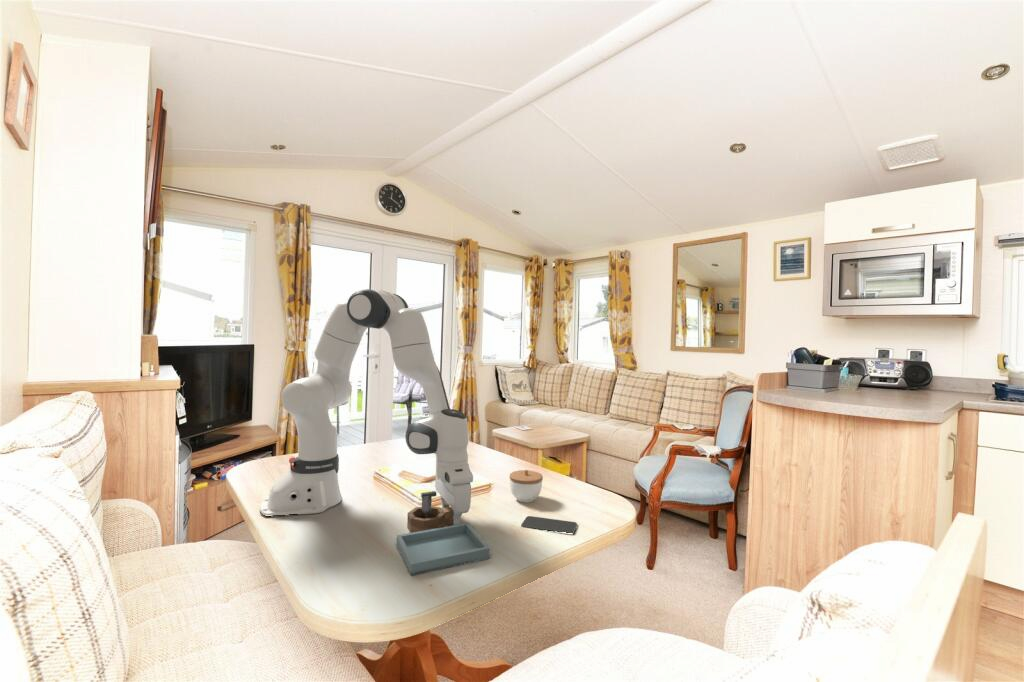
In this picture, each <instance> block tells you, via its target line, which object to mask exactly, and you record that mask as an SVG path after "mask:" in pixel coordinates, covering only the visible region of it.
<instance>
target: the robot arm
mask: <svg viewBox="0 0 1024 682" xmlns="http://www.w3.org/2000/svg"><path fill="white" fill-rule="evenodd" d="M368 328H371V329H378V330H379V329H383V330H384V331H386V332H387V333H388V336H389V339H390V345H391V353H392V358H393V363H394V365H395V367H396V370H397V371H398V372H399V373H400V374H401V375H403V376H404V377H406V378H408V379H412V380H413V381H415V382H416V383H417V384H418V385H420V387H421V388H422V390H423V392H424V396H425V400H426V405H427V407H428V411H429V415H428V416H429V417H426V418H422V419H419V420H417V421H413V422H412V423H411V424H409V426H408V427H407V429H406V431H405V435H404V437H405V443H406V445H407V447H408V448H409V450H410V451H411V452H412V453H414V454H416V455H430V454H434V455H435V459H436V460H435V482H434V483H435V485H434V487H435V491H436V493H438V494H439V495H440V500H441V508H446V507H451V508H452V509H453V512H454V517H452V522H453V524H454V525H459V524H461V518H462V516H463V514H465V513H466V514H467V513H469V512H470V511H469V510H470V508H471V502H472V501H471V500H472V485H471V483H473V482H474V475H473V473H472V471H471V469H470V465H469V464H470V463H468V462H469V455H468V446H469V438H470V437H469V423H468V417H467V415H466V414H465V413H464V412H463V411H460V410H458V409H453V408H452V409H451V408H450V404H449V400H448V397H447V393H446V389H445V385H444V381H443V377H442V375H441V372H440V370H439V366H438V365H437V363H436V361H435V357H434V355H433V350H432V349H433V348H432V345H431V339H430V335H429V332H428V331H429V330H428V327H427V324H426V321H425V317H424V316H423V314H422V313H421V312H420V311H419V310H418V309H416V308H412V307H409V304H408V303H407V301H406V300H405V299H404V298H403V297H402V296H400V295H398V294H396V293H392V292H389V291H386V290H377V289H368V288H366V289H359V290H356V291H354V293H352V294H351V295H350V297H349V298H348V299H346V300H341V301H339V302H338V303H337V304H336V306H335V307H334V309H333V310H332V312H331V313H330V315H329V317H328V319H327V321H326V323H325V325H324V327H323V330H322V333H321V335H320V337H319V340H318V343H317V345H316V348H315V350H314V357H315V359H316V360H317V369H316V372H315V374H314V375H313V376H307V377H300V378H298V379H296V380H294V381H292V382H290V383H288V384H287V385H286V386H285V387H283V389H282V391H281V397H280V401H281V405H282V407H283V409H284V410H285V411H286V412H287V413H288V414H290V415H291V417H292V419H293V421H294V423H295V427H296V430H297V456H294V455H292V456H290V457H289V458H288V463H289V465H290V467H289V469H290V470H289V471H287V472H286V473H285V474H284V475H283V476H281V477H280V478H278V480H276V481H275V482H274V483H273V484H272V486H271V488H270V490H269V494H268V497H266V498H265V499H264V500H263V501H261V503H260V505H259V512H260V511H261V513H262V514H264V515H285V516H290V515H289V514H298V515H310V514H321V513H323V512H325V511H326V510H327V509H329V508H332V507H334V506H336V505H338V504H339V503H340V502H342V499H343V497H342V494H341V490H340V484H339V476H338V475H339V469H340V467H339V466H340V457H339V454H338V429H337V427H336V426H334V425H333V424H332V422H331V418H330V415H329V410H330V409H334V408H338V407H339V406H341V405H342V404H343V403H345V402H347V400H349V398H351V395H352V392H353V391H352V383H351V381H350V375H351V374H350V373H351V368H352V365H353V364H352V363H353V361H354V360H355V359H354V358H355V356H356V354H357V351H358V348H359V345H360V344H361V341H362V339H363V336H364V333H365V332H366V330H367V329H368ZM261 513H260V514H261ZM262 514H261V515H262ZM287 514H288V515H287Z"/></svg>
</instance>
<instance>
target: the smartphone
mask: <svg viewBox="0 0 1024 682" xmlns="http://www.w3.org/2000/svg"><path fill="white" fill-rule="evenodd" d="M576 526H577V527H578V523H577V522H576V521H570V520H569V521H568V520H561V519H554V518H547V517H542V516H541V517H540V516H532V515H527V516H526V517H525V519H524V520H523V522H522V523H521V526H520V527H522V528H525V529H530V530H531V529H532V530H537V529H538V531H543V530H547V531H546V532H549V531H557V532H566V533H573V532H574V531H575V532H576V530H575V528H576ZM576 529H577V528H576Z"/></svg>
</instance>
